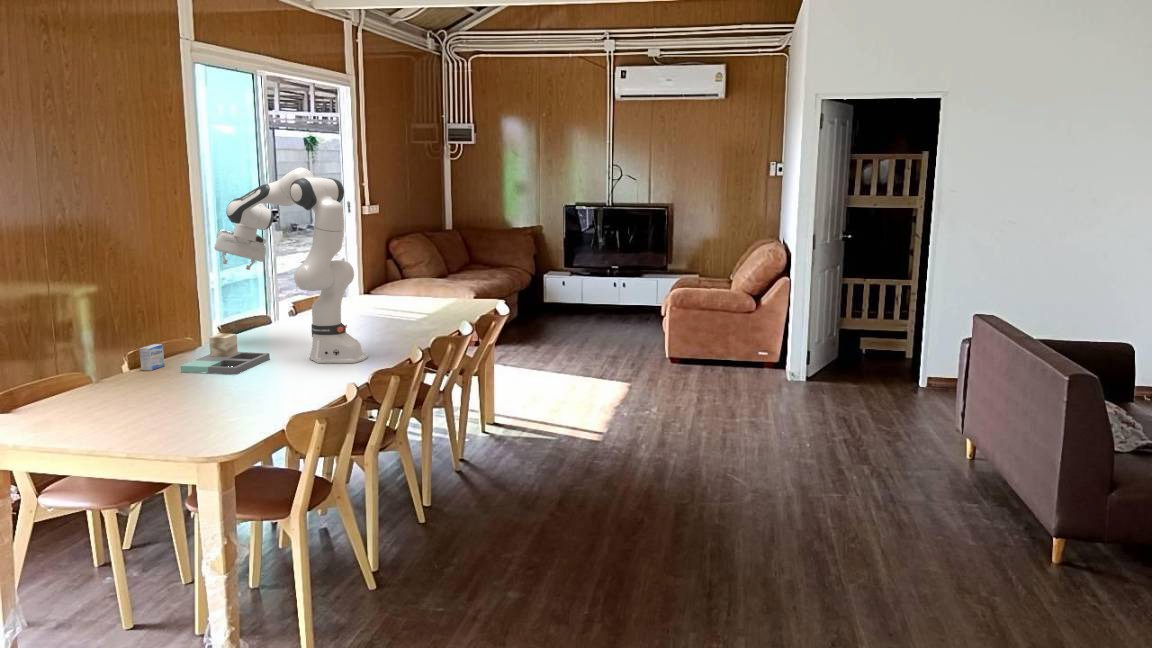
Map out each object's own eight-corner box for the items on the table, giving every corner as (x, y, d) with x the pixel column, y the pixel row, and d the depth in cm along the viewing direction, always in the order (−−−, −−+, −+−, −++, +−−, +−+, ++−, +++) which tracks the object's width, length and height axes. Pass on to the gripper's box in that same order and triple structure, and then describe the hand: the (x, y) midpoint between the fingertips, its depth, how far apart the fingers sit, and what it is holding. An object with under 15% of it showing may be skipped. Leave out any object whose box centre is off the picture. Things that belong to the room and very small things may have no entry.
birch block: (237, 352, 354) (236, 334, 352) (227, 356, 346) (225, 337, 345) (221, 351, 355) (220, 333, 353) (210, 356, 347) (209, 337, 346)
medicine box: (151, 371, 333) (149, 348, 331) (140, 370, 334) (139, 347, 332) (165, 366, 340) (163, 344, 339) (154, 365, 341) (152, 343, 340)
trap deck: (269, 359, 353) (269, 353, 353) (235, 374, 328) (235, 368, 328) (218, 357, 356) (218, 351, 356) (181, 372, 331) (180, 365, 331)
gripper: (219, 227, 366) (211, 260, 365) (269, 241, 375) (261, 272, 374) (217, 228, 372) (209, 260, 371) (267, 241, 381) (259, 272, 380)
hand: (236, 266), depth 373 cm, fingers open, 8 cm apart
